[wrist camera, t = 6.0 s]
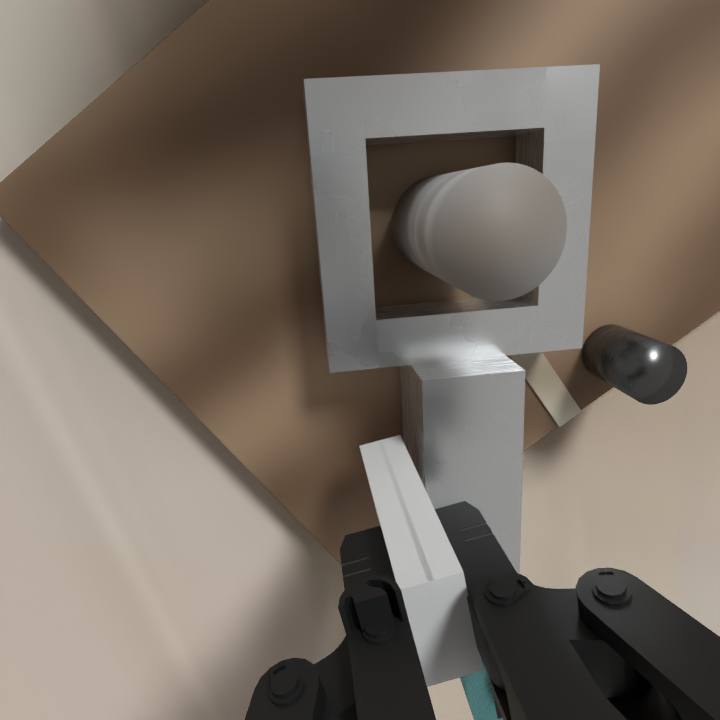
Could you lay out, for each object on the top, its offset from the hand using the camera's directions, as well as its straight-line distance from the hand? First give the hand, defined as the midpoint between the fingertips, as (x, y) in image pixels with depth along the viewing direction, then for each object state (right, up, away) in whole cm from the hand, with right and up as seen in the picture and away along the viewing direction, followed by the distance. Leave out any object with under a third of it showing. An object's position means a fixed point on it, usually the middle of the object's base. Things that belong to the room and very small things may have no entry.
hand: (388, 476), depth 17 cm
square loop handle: (+2, +4, +1) cm, 4 cm away
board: (+2, +9, +1) cm, 9 cm away
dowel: (+8, +4, +3) cm, 10 cm away
